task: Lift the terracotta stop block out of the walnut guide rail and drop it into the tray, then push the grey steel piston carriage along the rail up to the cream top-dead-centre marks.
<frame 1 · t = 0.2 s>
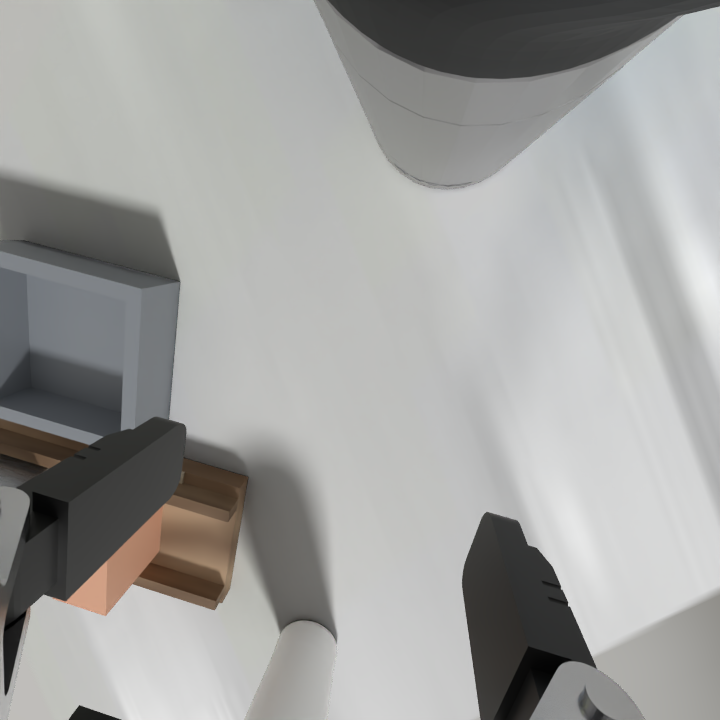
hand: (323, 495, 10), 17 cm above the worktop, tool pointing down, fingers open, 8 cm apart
guide board: (117, 499, 34), on the worktop
stop block: (138, 520, 33), point 1 cm above the worktop, touching guide board
tray: (99, 340, 30), on the worktop
white cylinder: (310, 637, 36), on the worktop
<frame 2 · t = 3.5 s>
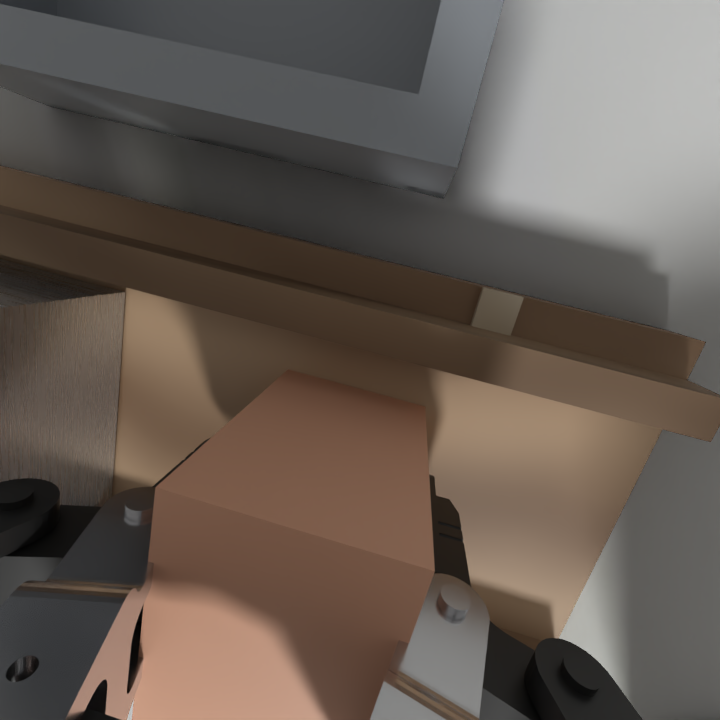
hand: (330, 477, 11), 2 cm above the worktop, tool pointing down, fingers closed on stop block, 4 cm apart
guide board: (260, 417, 14), on the worktop
stop block: (336, 464, 12), point 2 cm above the worktop, touching gripper, guide board
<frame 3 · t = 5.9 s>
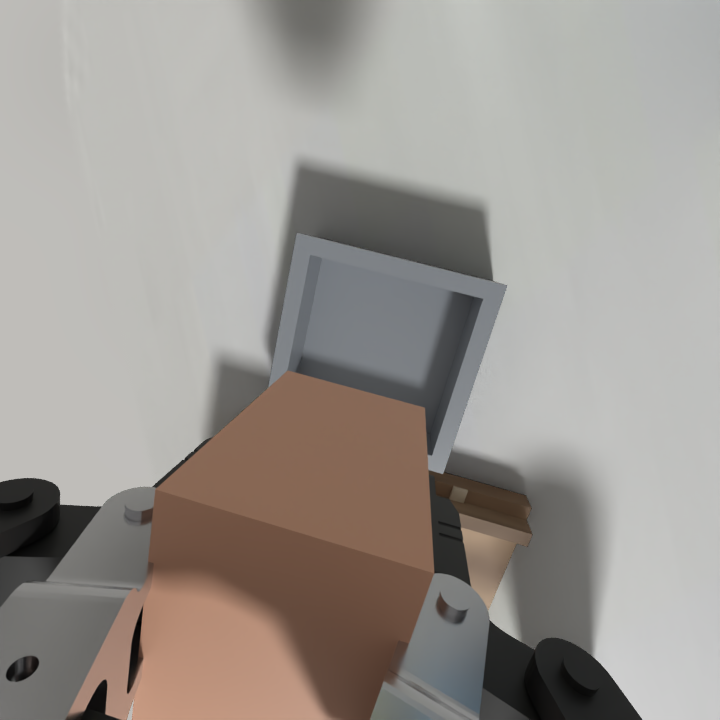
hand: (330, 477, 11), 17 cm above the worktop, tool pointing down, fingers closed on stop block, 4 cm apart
guide board: (360, 520, 31), on the worktop
stop block: (336, 465, 12), point 16 cm above the worktop, touching gripper
tray: (379, 345, 27), on the worktop
when the fingers open (3 cm above the worktop, at t = 8.8 s): stop block drops 2 cm, resting on tray.
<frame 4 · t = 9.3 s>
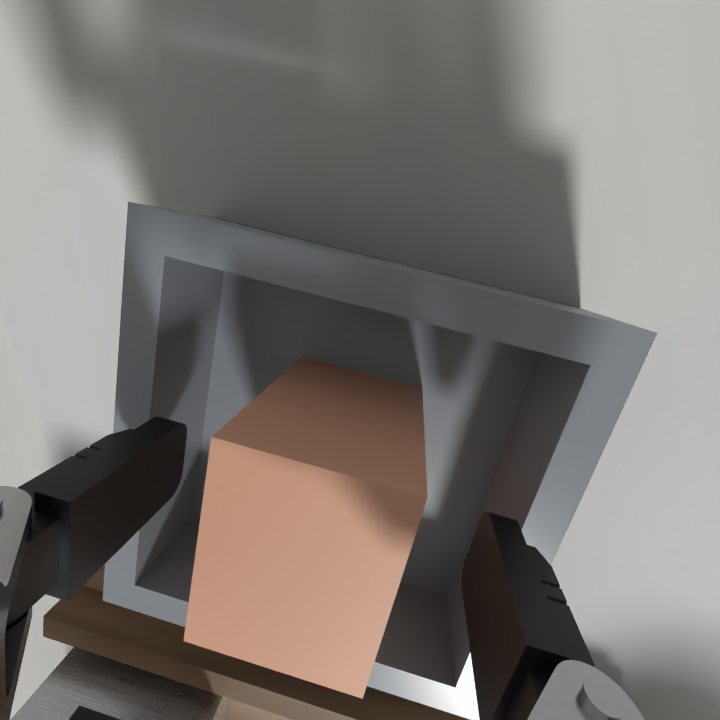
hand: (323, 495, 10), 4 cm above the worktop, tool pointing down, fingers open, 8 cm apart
guide board: (323, 714, 18), on the worktop
stop block: (345, 440, 13), point 1 cm above the worktop, touching tray
tray: (349, 429, 14), on the worktop
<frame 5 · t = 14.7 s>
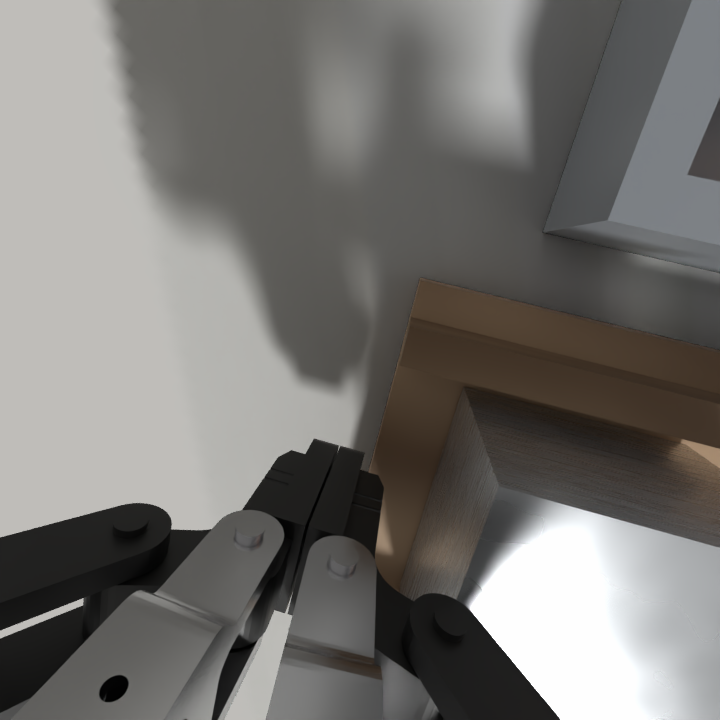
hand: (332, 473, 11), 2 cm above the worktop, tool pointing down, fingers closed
guide board: (703, 542, 13), on the worktop
piston carriage: (556, 588, 9), point 4 cm above the worktop, slide at 0.9 cm, touching gripper
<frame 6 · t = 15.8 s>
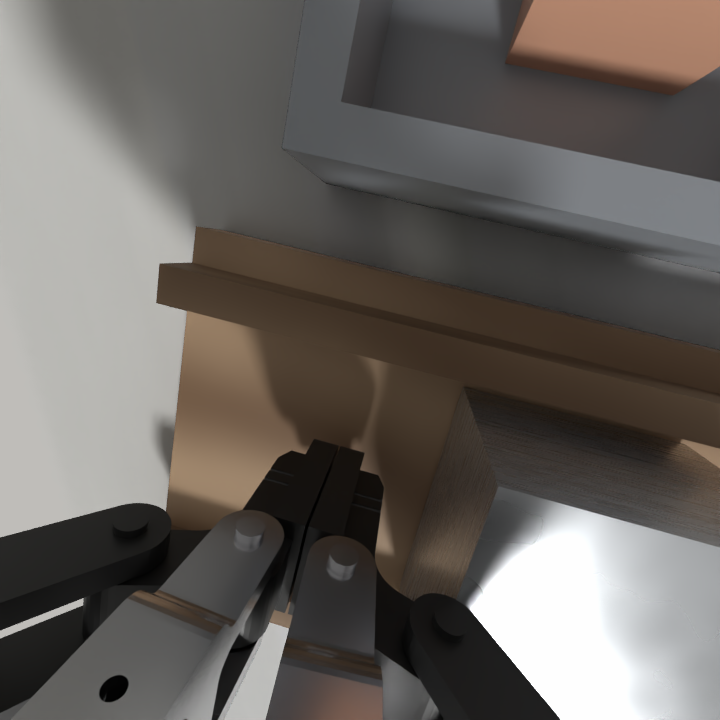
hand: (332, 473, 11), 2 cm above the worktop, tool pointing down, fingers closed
guide board: (507, 488, 13), on the worktop
piston carriage: (556, 588, 9), point 4 cm above the worktop, slide at 7.3 cm, touching gripper
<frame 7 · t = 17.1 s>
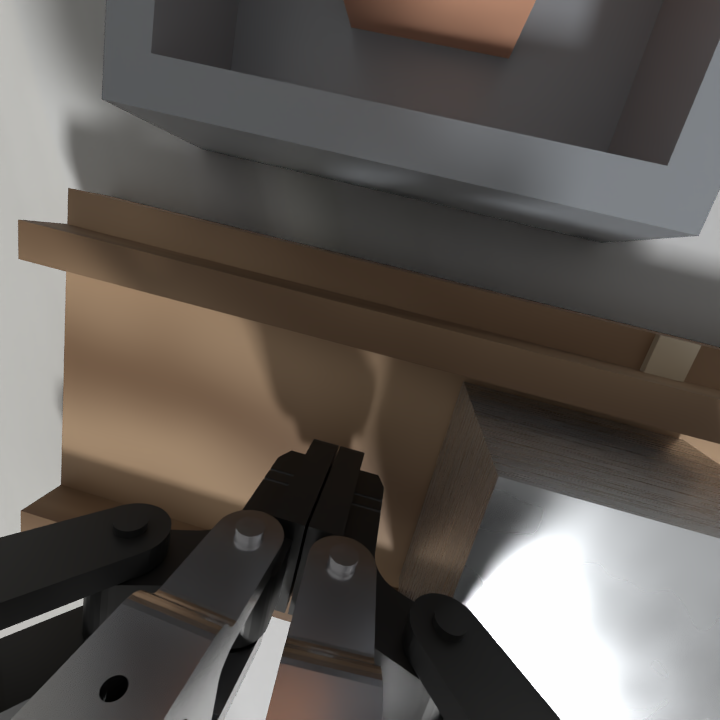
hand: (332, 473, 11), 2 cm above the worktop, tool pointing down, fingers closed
guide board: (392, 451, 14), on the worktop
piston carriage: (554, 581, 9), point 4 cm above the worktop, slide at 11.2 cm, touching gripper
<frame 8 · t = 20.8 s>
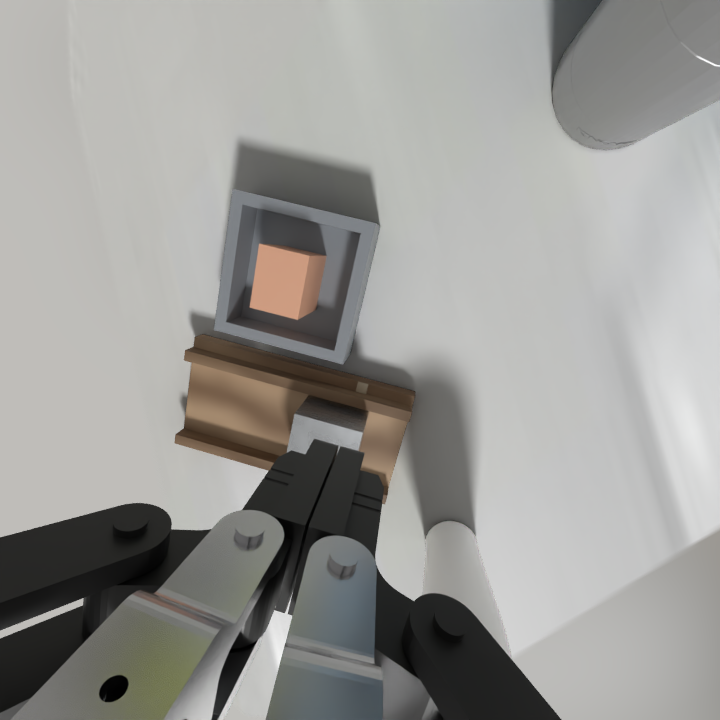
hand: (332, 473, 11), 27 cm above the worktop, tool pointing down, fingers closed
guide board: (295, 416, 41), on the worktop
stop block: (300, 278, 37), point 1 cm above the worktop, touching tray
tray: (302, 277, 37), on the worktop
white cylinder: (450, 538, 42), on the worktop
piston carriage: (326, 445, 37), point 4 cm above the worktop, slide at 11.2 cm
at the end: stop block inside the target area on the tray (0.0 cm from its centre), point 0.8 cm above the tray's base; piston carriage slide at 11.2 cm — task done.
